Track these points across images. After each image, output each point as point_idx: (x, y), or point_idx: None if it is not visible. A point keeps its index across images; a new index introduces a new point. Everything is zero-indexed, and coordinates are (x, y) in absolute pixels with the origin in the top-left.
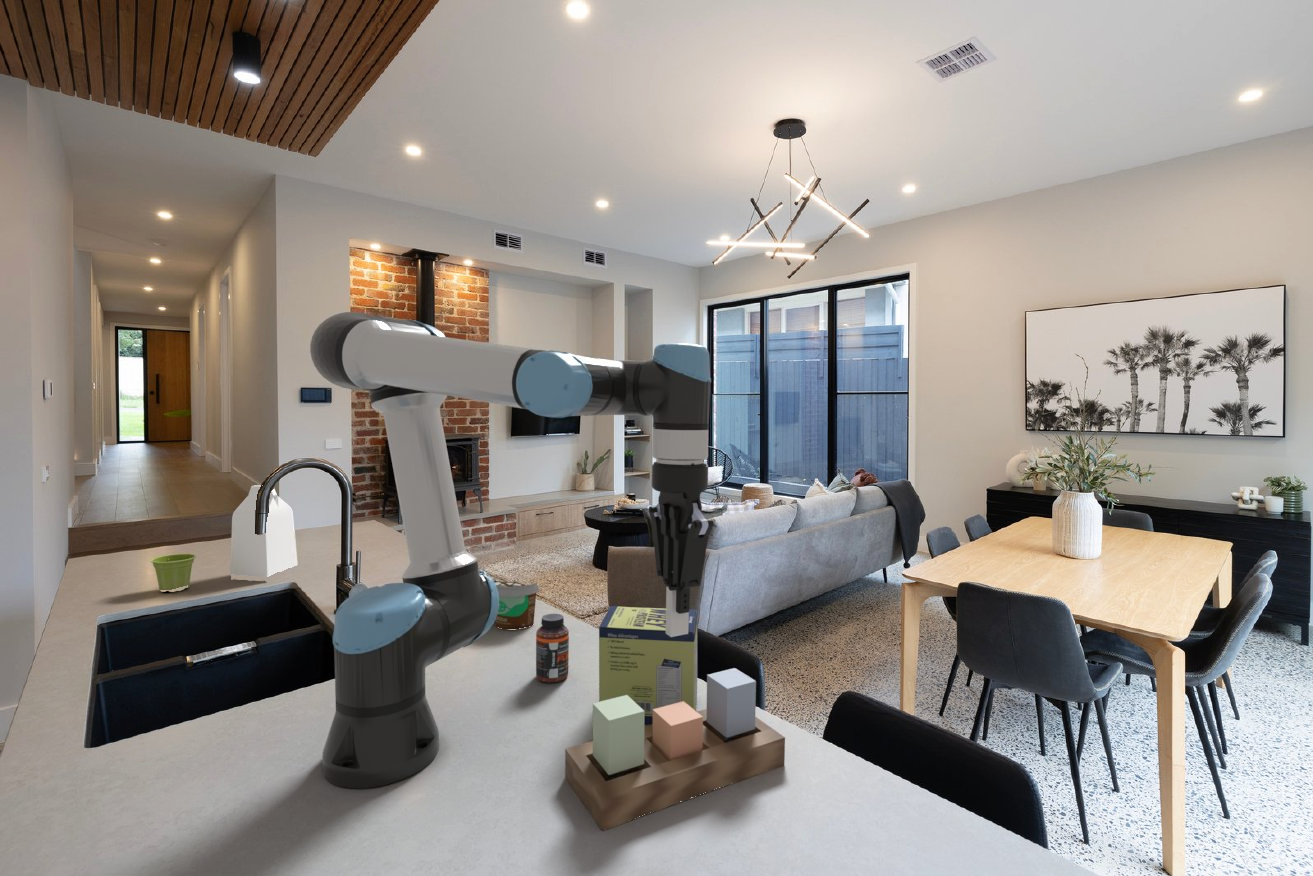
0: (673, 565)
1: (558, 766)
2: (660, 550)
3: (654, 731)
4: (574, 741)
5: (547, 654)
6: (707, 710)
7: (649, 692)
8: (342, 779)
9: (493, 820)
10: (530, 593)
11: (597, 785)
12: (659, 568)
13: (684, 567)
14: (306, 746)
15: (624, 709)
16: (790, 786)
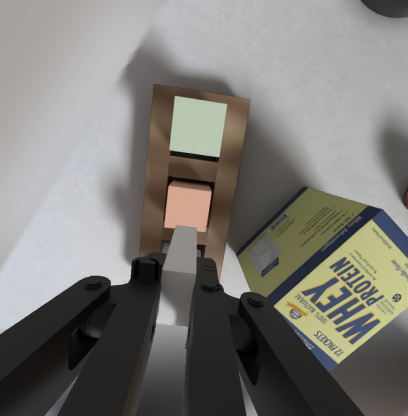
0: (145, 327)
1: (264, 109)
2: (285, 381)
3: (205, 187)
4: (290, 146)
5: None
6: (198, 254)
7: (277, 234)
8: None
9: (229, 13)
10: None
11: (174, 91)
12: (256, 310)
13: (42, 328)
14: None
15: (187, 130)
16: (118, 258)
